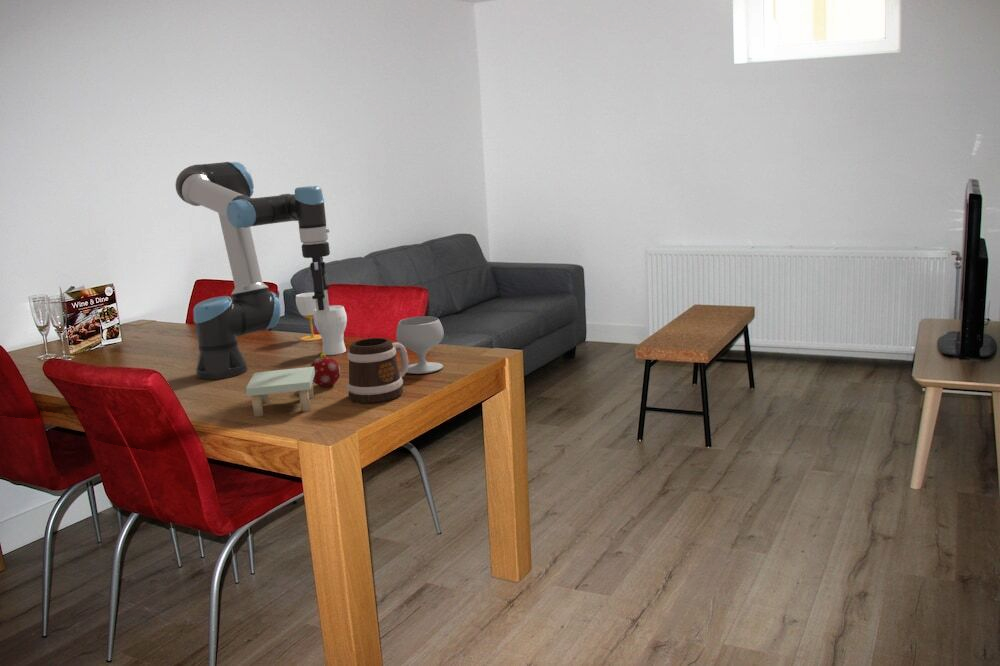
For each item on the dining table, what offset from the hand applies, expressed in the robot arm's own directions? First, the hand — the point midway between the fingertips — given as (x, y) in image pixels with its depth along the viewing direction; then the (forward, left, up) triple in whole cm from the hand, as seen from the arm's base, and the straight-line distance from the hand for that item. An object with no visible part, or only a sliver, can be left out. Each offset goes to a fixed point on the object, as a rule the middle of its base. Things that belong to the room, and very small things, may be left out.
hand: (324, 316), depth 242 cm
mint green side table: (-11, -19, -20) cm, 29 cm away
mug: (+15, -17, -20) cm, 30 cm away
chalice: (+27, +4, -20) cm, 33 cm away
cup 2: (-10, +64, -20) cm, 68 cm away
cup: (-1, +38, -20) cm, 43 cm away
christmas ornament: (-1, -3, -20) cm, 20 cm away
